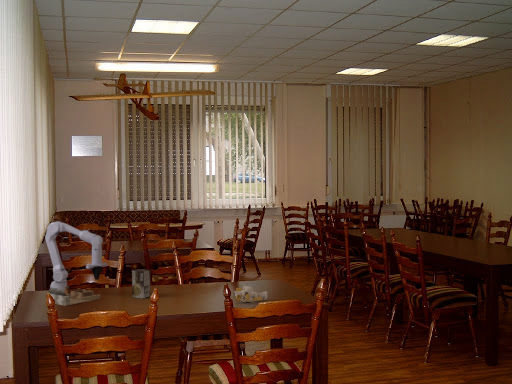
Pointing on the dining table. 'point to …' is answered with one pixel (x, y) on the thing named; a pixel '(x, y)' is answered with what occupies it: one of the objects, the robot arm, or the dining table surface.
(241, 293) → the figure
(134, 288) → the coffee box
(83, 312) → the dining table surface
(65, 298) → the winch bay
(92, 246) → the robot arm
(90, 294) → the beige square tray
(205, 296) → the dining table surface
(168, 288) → the dining table surface
